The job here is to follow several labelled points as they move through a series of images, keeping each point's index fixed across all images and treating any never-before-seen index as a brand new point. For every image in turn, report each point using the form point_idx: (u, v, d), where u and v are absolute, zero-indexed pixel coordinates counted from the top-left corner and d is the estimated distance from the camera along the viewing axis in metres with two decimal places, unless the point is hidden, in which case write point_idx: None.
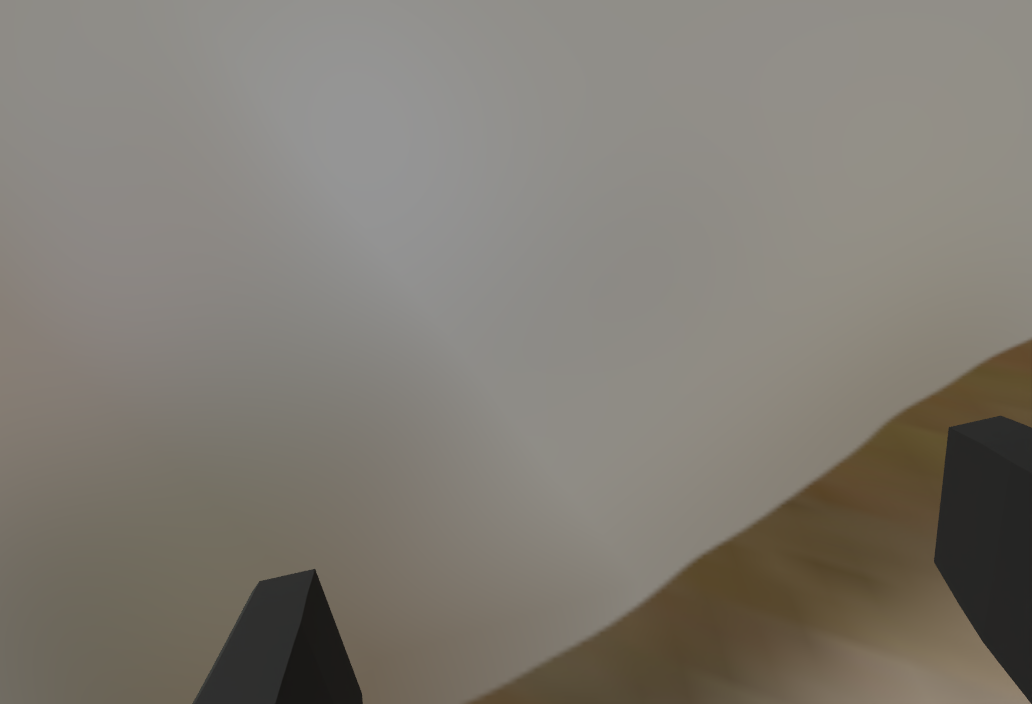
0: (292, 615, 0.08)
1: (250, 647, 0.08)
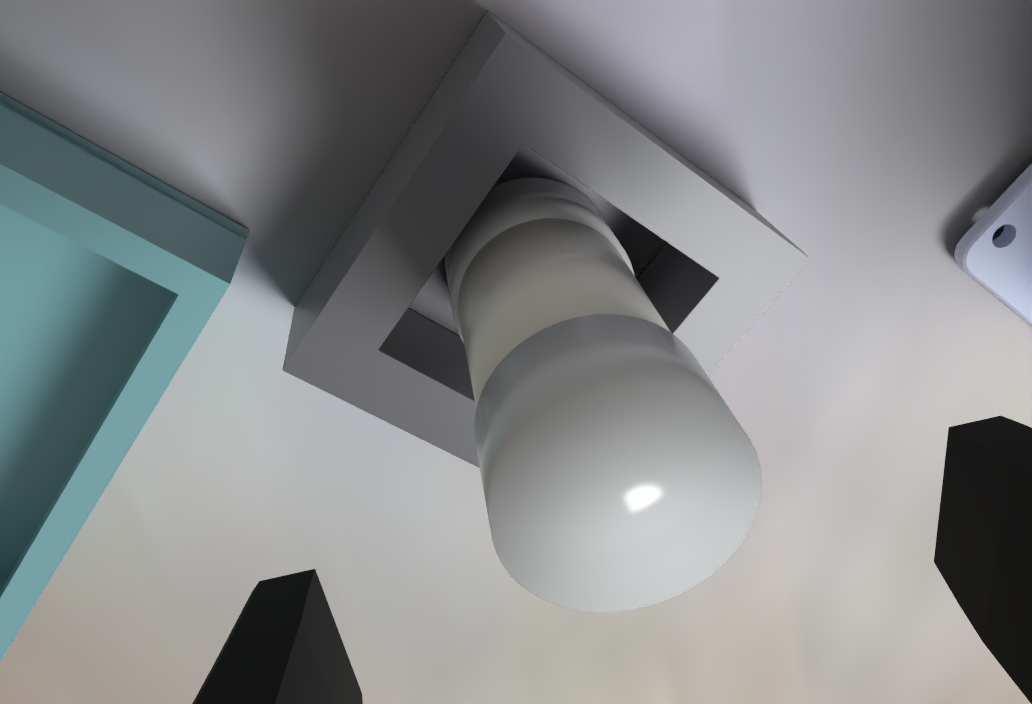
0: (292, 615, 0.08)
1: (250, 647, 0.08)
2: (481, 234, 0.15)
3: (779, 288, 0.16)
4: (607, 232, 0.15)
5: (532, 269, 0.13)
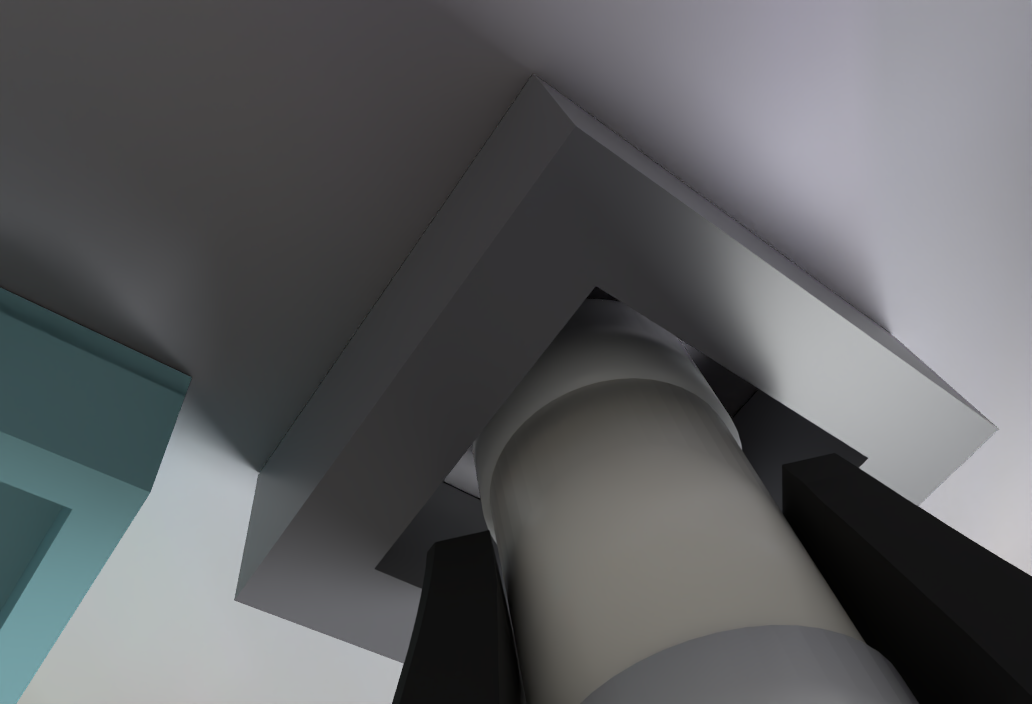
0: (485, 572, 0.08)
1: (452, 601, 0.08)
2: (525, 400, 0.10)
3: (949, 467, 0.11)
4: (707, 395, 0.11)
5: (614, 490, 0.09)
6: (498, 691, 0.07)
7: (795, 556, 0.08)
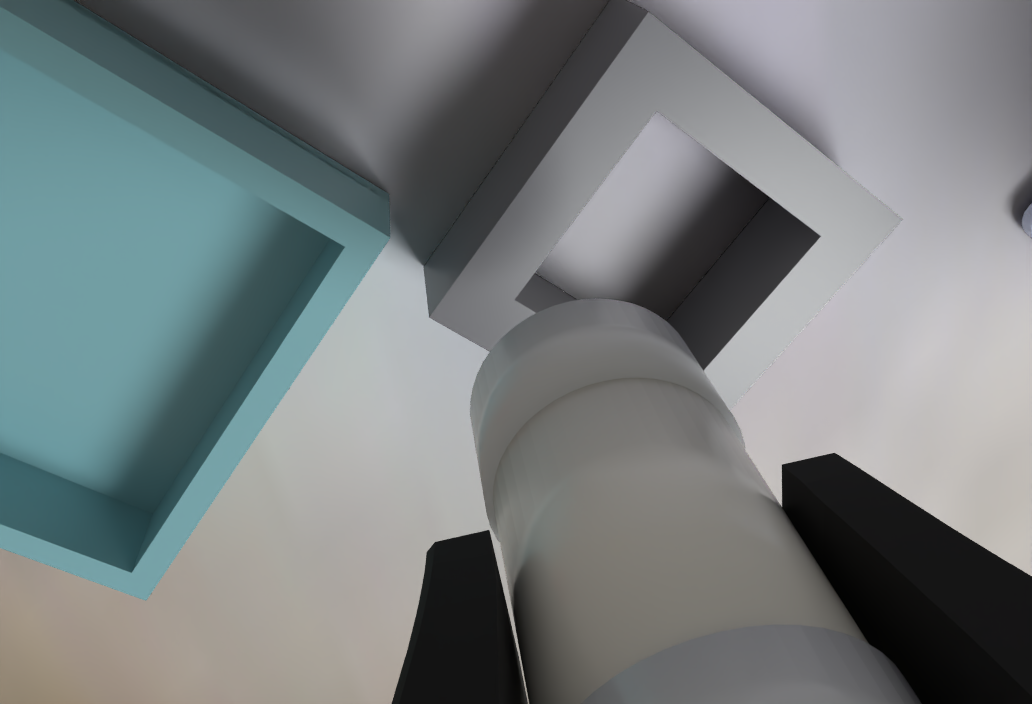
0: (485, 572, 0.08)
1: (452, 601, 0.08)
2: (529, 399, 0.10)
3: (873, 245, 0.17)
4: (711, 394, 0.11)
5: (617, 490, 0.09)
6: (497, 691, 0.07)
7: (798, 556, 0.08)
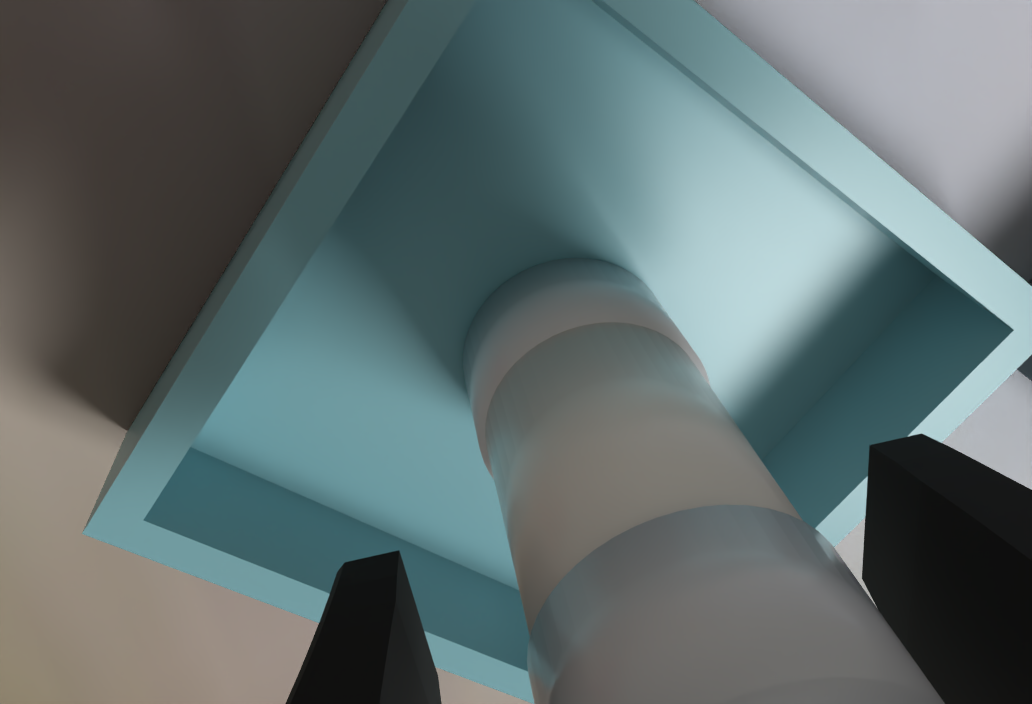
0: (385, 594, 0.08)
1: (348, 625, 0.08)
2: (516, 343, 0.12)
3: None
4: (678, 337, 0.12)
5: (594, 410, 0.10)
6: None
7: (750, 460, 0.09)
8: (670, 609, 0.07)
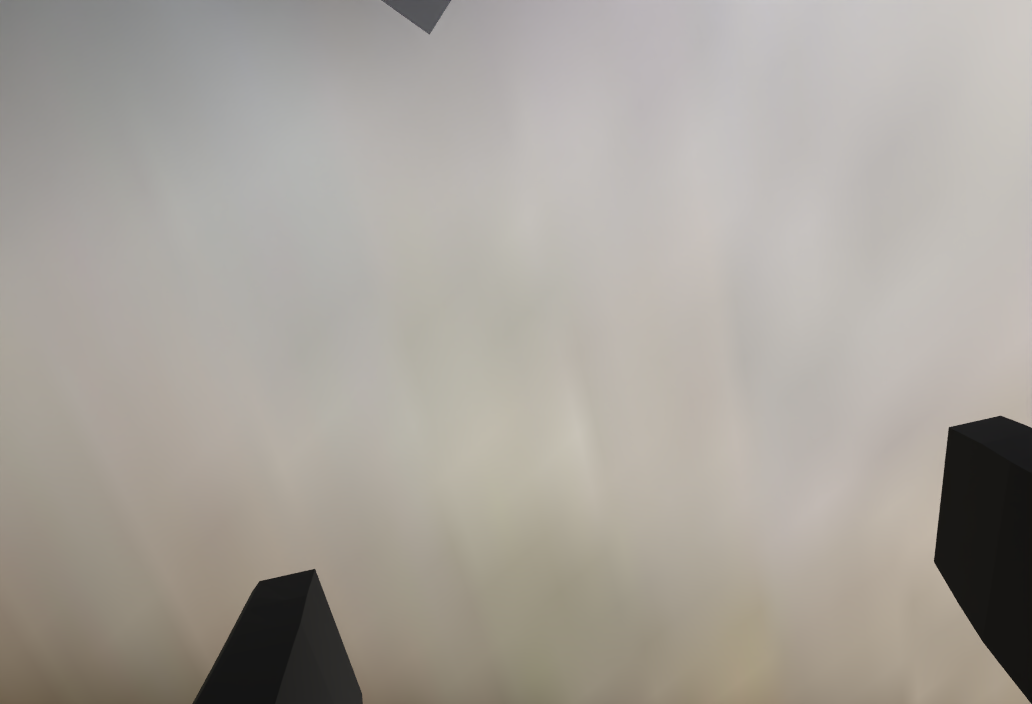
0: (292, 615, 0.08)
1: (250, 647, 0.08)
2: None
3: None
4: None
5: None
6: None
7: None
8: None
